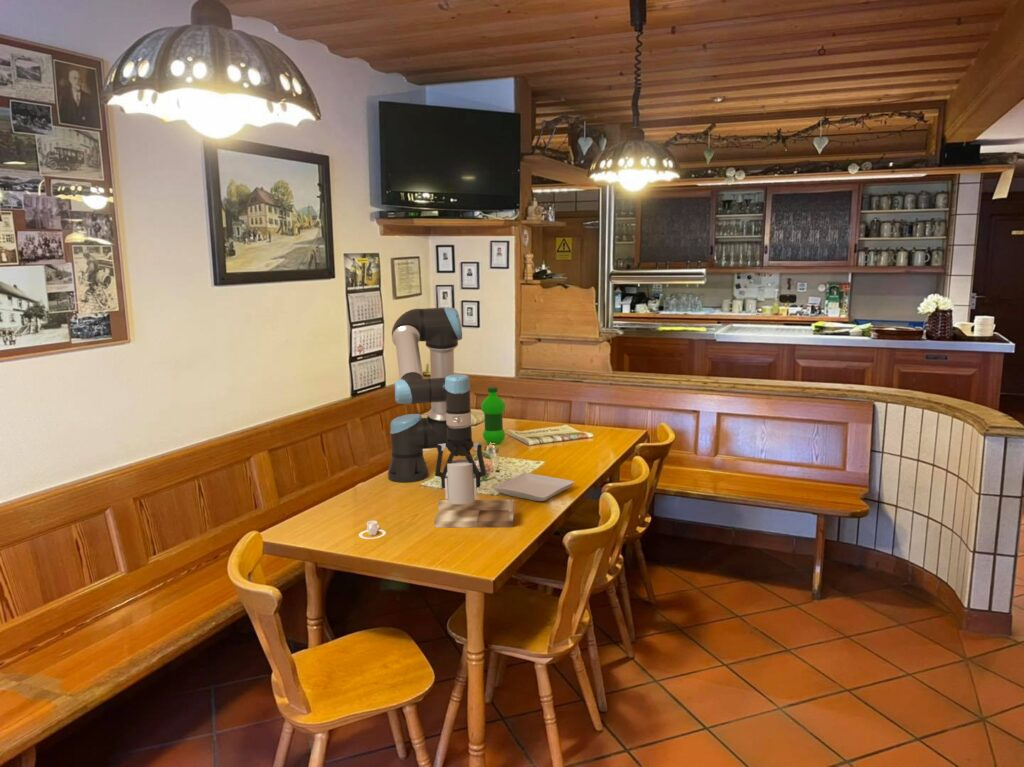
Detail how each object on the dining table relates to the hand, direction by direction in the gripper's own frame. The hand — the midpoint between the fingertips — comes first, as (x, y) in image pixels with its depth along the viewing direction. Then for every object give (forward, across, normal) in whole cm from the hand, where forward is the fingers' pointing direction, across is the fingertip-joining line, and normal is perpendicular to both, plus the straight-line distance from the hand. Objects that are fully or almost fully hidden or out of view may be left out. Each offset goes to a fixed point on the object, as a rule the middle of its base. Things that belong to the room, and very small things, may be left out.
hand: (461, 497), depth 228 cm
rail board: (+8, +4, +1) cm, 9 cm away
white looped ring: (+8, -24, -8) cm, 26 cm away
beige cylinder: (+1, 0, 0) cm, 1 cm away
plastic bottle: (+8, +3, +101) cm, 101 cm away
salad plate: (+8, +22, +30) cm, 38 cm away
